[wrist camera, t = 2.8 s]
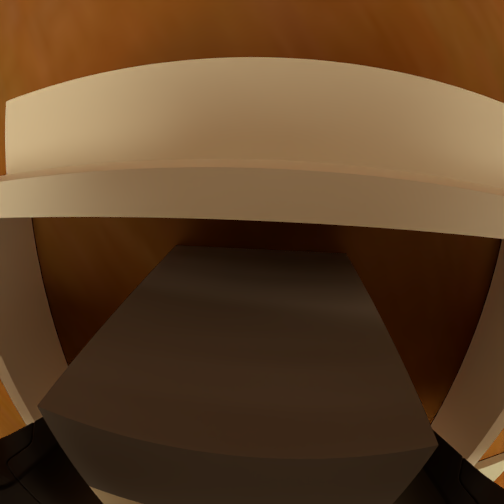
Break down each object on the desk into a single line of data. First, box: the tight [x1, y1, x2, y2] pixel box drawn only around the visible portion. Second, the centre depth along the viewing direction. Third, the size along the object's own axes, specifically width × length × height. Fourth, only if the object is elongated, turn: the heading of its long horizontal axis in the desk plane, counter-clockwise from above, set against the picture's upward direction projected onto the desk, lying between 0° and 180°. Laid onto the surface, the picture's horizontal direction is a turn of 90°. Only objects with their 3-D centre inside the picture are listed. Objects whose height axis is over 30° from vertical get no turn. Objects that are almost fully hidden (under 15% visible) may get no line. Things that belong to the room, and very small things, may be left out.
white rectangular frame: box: [0, 57, 504, 466], centre depth 8 cm, size 16×19×3 cm
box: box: [37, 245, 438, 504], centre depth 7 cm, size 9×4×6 cm, turn 179°
